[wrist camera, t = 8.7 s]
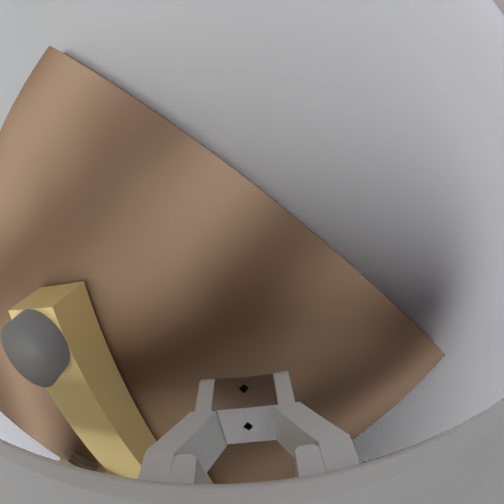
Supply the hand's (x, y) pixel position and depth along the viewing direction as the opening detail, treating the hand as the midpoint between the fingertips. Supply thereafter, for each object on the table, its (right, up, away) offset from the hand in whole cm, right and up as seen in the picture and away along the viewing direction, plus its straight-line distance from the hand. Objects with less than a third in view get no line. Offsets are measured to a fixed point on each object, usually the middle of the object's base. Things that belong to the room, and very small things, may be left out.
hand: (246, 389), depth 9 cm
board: (-6, -2, +3) cm, 7 cm away
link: (-6, -5, +2) cm, 8 cm away
